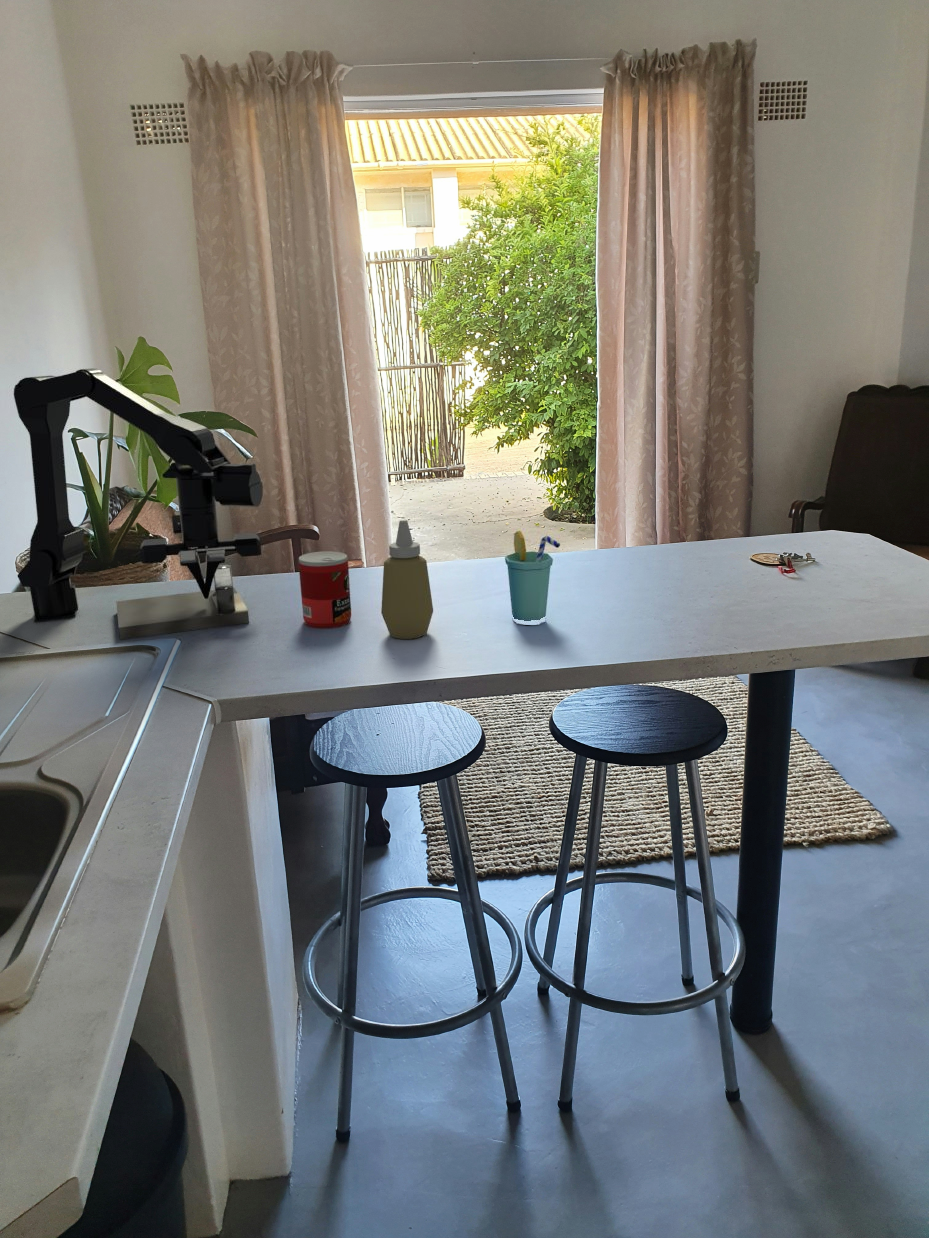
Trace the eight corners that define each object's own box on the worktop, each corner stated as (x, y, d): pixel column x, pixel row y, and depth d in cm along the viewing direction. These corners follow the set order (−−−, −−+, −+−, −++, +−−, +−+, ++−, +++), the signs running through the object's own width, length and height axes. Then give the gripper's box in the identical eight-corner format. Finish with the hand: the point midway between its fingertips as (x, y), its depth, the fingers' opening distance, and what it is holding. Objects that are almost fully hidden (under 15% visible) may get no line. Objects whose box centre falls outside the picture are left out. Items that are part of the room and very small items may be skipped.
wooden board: (120, 639, 140) (118, 626, 139) (117, 612, 154) (116, 600, 154) (249, 622, 147) (247, 609, 146) (235, 598, 161) (234, 586, 161)
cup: (577, 629, 140) (579, 535, 135) (536, 638, 136) (537, 542, 132) (527, 607, 151) (527, 520, 147) (488, 615, 148) (487, 526, 143)
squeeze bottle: (441, 628, 142) (437, 516, 136) (422, 644, 135) (418, 527, 129) (394, 624, 144) (389, 514, 139) (374, 640, 137) (367, 525, 132)
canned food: (343, 629, 142) (338, 563, 139) (296, 627, 144) (290, 561, 141) (358, 615, 150) (354, 551, 146) (313, 613, 151) (308, 550, 148)
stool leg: (214, 587, 159) (212, 565, 158) (233, 585, 160) (230, 564, 159) (216, 615, 143) (214, 591, 142) (237, 613, 144) (234, 589, 143)
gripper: (252, 494, 154) (259, 581, 159) (138, 500, 149) (149, 590, 154) (257, 505, 144) (264, 598, 149) (135, 512, 139) (146, 608, 143)
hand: (206, 598), depth 149 cm, fingers closed
